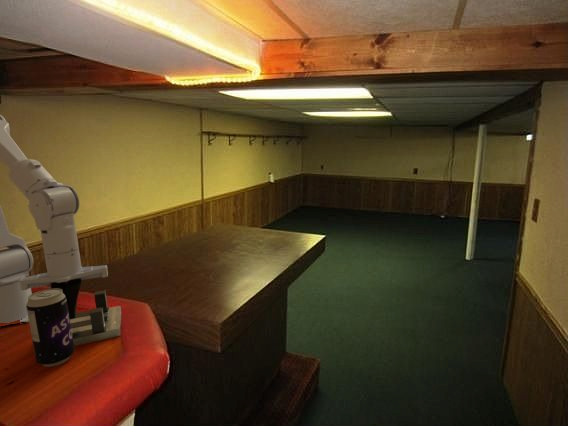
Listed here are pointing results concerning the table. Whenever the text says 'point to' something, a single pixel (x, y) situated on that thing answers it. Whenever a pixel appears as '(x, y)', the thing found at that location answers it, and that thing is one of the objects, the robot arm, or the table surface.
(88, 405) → the table surface
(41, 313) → the beverage can
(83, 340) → the panel
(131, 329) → the table surface
